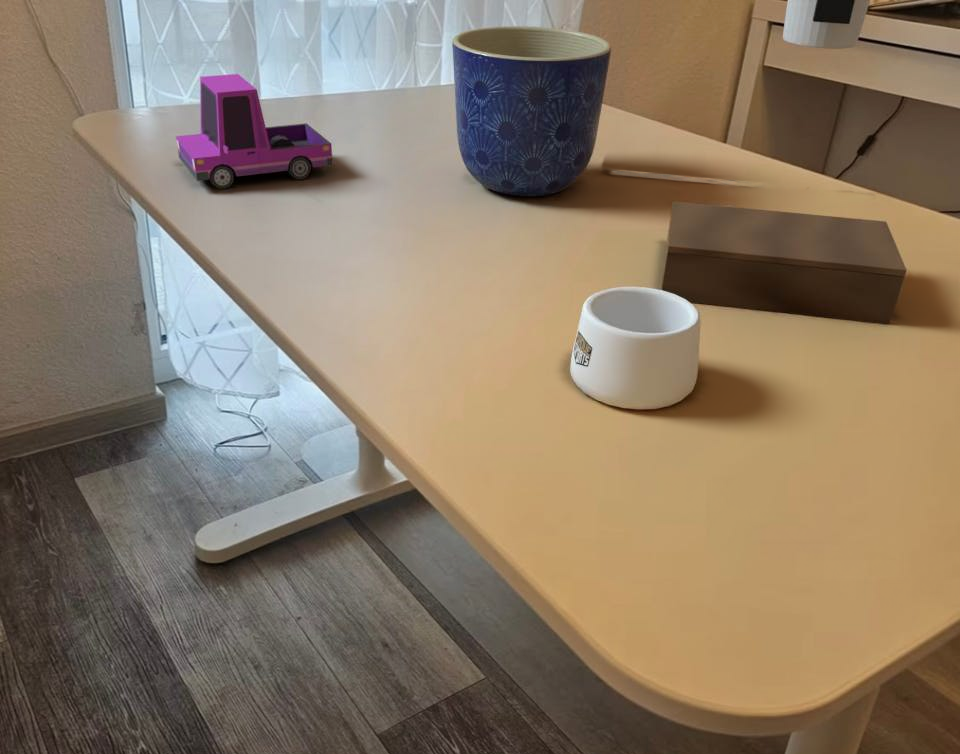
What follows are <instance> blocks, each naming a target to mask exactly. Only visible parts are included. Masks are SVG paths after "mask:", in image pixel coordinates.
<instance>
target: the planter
mask: <svg viewBox="0 0 960 754" xmlns="http://www.w3.org/2000/svg"><path fill="white" fill-rule="evenodd" d="M451 44H452V62H453V63H452V64H453V78H454V79H453V81H454V101H455V119H456V134H457V144H458V149H459V152H460V156H461V159H462V162H463V164H464V166H465V168H466V169H467V171H468V172H469V174H470V175H471V176H472V178H474V179H475V181H477V182H478V183H479V184H481V185H482V186H483V187H485V188H487V189H489V190H491V191H494V192H496V193H500V194H505V195H510V196H515V197H517V196H518V197H539V196H540V197H541V196H546V195H551V194H552V195H553V194H555V193H559V192H561V191H563V190H565V189H567V188H568V187H571V186H572V185H573V184H574V183H576V182H577V180H579V178H580V177H581V176H582V175H583V174H584V172H585V171H586V169H587V167H588V165H589V163H590V162H591V158H592V156H593V154H594V150H595V146H596V141H597V136H598V131H599V125H600V120H601V119H600V118H601V114H602V107H603V101H604V96H605V95H604V94H605V89H606V83H607V78H608V71H609V66H610V59H611V55H612V45H611V43H610V42H609V41H607V40H606V39H604V38H602V37H600V36H597V35H593V34H590V33H586V32H582V31H577V30H571V29H563V28H556V27H545V26H531V25H530V26H526V25H525V26H524V25H509V26H508V25H507V26H491V27H490V26H488V27H481V28H475V29H470V30H465V31H462V32H460V33H458V34H456V35H455V36H454V37H453V38H452V41H451Z"/></svg>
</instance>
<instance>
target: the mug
mask: <svg viewBox="0 0 960 754" xmlns="http://www.w3.org/2000/svg"><path fill="white" fill-rule="evenodd" d="M701 324H702V320H701V314H700V311H699V310H698V309H697V307H696V306H695V305H694V304H692V302H688V301H687V300H686V299H684V298H682V297H679V296H677V295H675V294H672V293H669V292H666V291H663V290H661V289H657V288H654V287H653V288H652V287H644V286H618V287H617V286H616V287H612V288H611V287H610V288H607V289H603V290H600V291H597V292H595V293H593V294H591V295H590V296H588V297H587V299H586V300H585V301H584V303H583V305H582V309H581V314H580V317H579V322H578V326H577V327H578V328H577V331H576V336H575V339H574V344H573V348H572V353H571V359H570V368H569V369H570V375H571V378H572V380H573V382H574V383H575V384H576V387H578V388H579V389H580V390H581V391H582V392H583V393H584V394H585V395H587V396H589V397H590V398H592V399H593V400H596V401H598V402H601V403H603V404H606V405H608V406H613V407H617V408H622V409H629V410H656V409H661V408H666V407H670V406H673V405H675V404H677V403H679V402H681V401H682V400H684V399H685V398H686V397H687V396H689V394H691V393H692V392H693V390H694V388H695V385H696V383H697V378H698V374H699V373H698V372H699V357H700V356H699V355H700V340H701V326H702V325H701Z"/></svg>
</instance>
